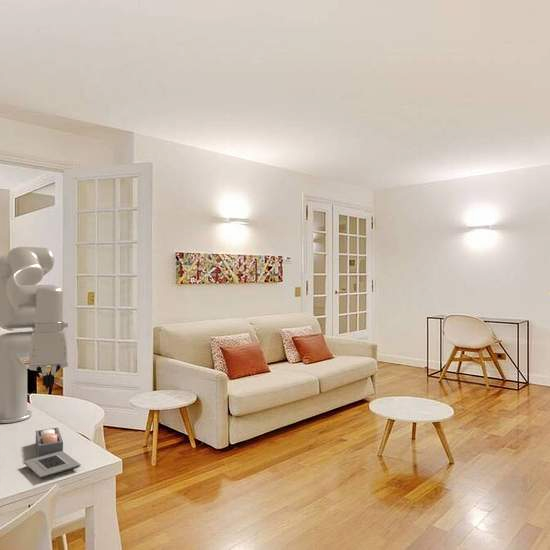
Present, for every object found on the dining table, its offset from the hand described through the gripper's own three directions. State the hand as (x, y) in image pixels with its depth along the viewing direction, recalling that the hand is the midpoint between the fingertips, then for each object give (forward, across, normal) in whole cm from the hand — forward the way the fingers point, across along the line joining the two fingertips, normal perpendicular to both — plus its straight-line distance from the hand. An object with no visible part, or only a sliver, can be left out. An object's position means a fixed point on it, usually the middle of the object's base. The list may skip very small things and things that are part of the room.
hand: (48, 387), depth 139 cm
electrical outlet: (+20, 0, +14) cm, 24 cm away
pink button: (+18, 0, +2) cm, 18 cm away
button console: (+20, 0, -1) cm, 20 cm away
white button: (+19, 0, -5) cm, 20 cm away
